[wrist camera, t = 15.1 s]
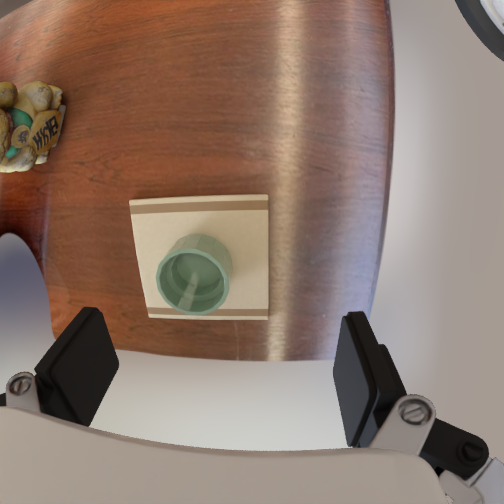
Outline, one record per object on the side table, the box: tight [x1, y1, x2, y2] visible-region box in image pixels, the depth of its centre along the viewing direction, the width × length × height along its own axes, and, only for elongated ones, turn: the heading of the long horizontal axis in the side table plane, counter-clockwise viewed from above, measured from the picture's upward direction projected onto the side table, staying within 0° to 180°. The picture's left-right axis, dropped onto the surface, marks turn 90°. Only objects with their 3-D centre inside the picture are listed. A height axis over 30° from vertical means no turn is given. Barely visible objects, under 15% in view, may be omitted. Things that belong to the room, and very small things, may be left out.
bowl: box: [156, 234, 233, 315], centre depth 29 cm, size 7×7×4 cm
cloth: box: [129, 194, 268, 320], centre depth 32 cm, size 14×14×1 cm
